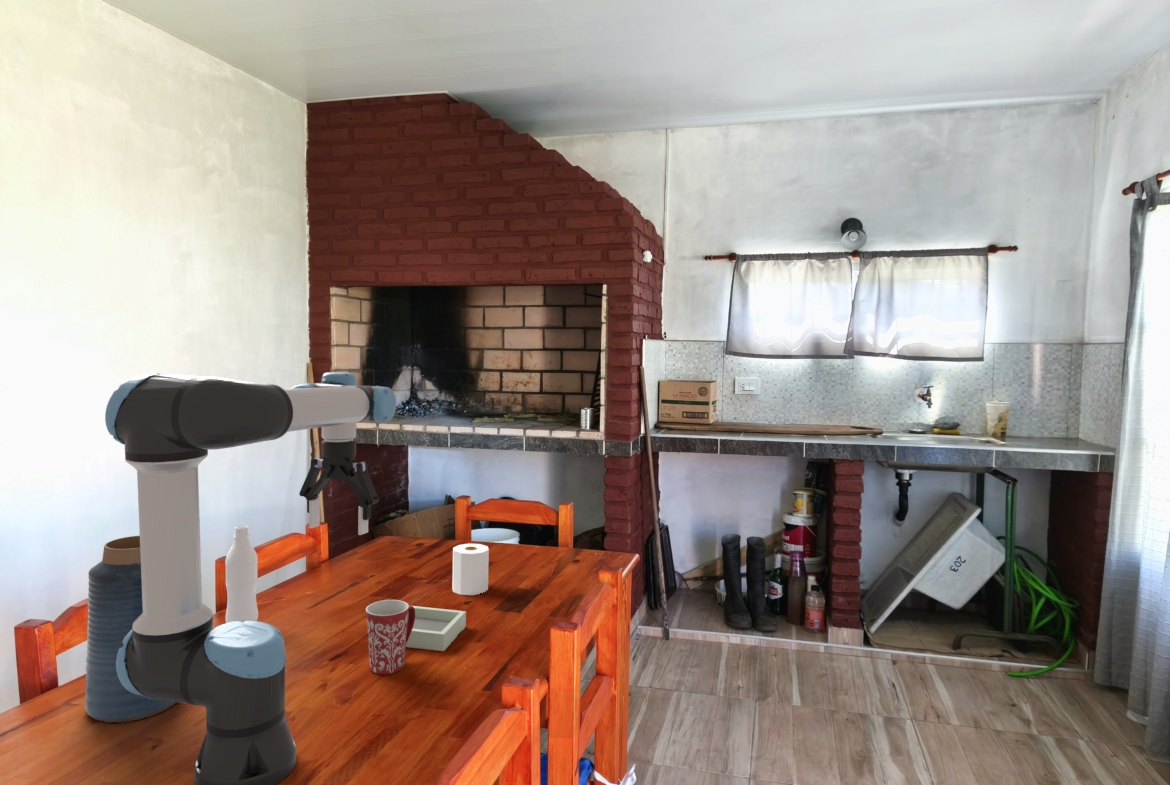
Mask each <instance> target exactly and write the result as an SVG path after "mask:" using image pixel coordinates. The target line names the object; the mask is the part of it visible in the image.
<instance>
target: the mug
mask: <svg viewBox="0 0 1170 785" xmlns="http://www.w3.org/2000/svg"><path fill="white" fill-rule="evenodd" d="M413 606H414V605H410V604H409V603H407V602H405V601H403V600H398V599H384V600H383V599H382V600H378V601H375V602H373V603H370V604H369V605H367V606H366V608H365V613H366V623H367V625H366V626H367V642H368V657H369V658H368V659H369V660H368V661H369V669H370V671H371V672H372V673H374V674H377V675H390V674H395V673H397V672H400V671H401V670H402V669H403V668H404V667H405V659H406V647H405V646H406V643H407V641H408V639H409V636H410V634H411V631H412V629H413V625H414V621H415V609H414V607H413ZM407 616H408V621H407Z"/></svg>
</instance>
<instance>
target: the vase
mask: <svg viewBox="0 0 1170 785" xmlns="http://www.w3.org/2000/svg"><path fill="white" fill-rule="evenodd" d="M87 574H88V588H87V589H88V595H87V596H88V600H87V602H88V604H87V608H88V609H87V615H88V616H87V630H86V631H87V634H86V635H87V636H86V637H87V639H86V641H87V645H86V649H87V650H86V659H85V660H86V661H85V662H86V664H85V665H86V666H85V672H86V674H85V698H84V699H85V700H84V701H85V702H84V703H85V704H84V709H85V712H86V713H87V715H88V716H90V717H91V718H93V719H94V720H96V721H99V720H100V721H99V722H102V721H104V723H111V722H116V723H126V722H127V721H128V722H132V721H133V720H134V721H139V720H141V719H146V718H149V717H152V716H155V715H157V714H160V713H161V712H164V711H166V710H168V709H169V708H171V707H172V706H174V705H175V704H177V702H173V701H167V700H161V699H160V700H153V699H149V698H146V697H143V696H141V695H137V694H134V693H131V692H130V691H128V690H127V689H126V688H125V687H124V686H123V685H122V684H121V682H120V680H119V678H118V675H117V670H116V659H117V654H118V650H119V648H122V647H123V645H124V644H123V643H122V641H123V640H124V638H125V636H126V635H127V634H128V633H129V632H130V631H131V630H132V626H133V622H134V621H135V620H136V619H137V618H138V617H139V616H140V615H141V614H142V613H143V606H142V581H141V556H140V535H132V536H124V537H121V538H116V539H113V540H109V541H108V542H106V543H104V545H103V551H102V559H101V561H99V562H98V563H97V564H95V565H94V566H92V567H91V568H90V569H89V570H88V573H87ZM145 717H146V718H145ZM134 721H133V722H134Z"/></svg>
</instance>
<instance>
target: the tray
mask: <svg viewBox="0 0 1170 785" xmlns="http://www.w3.org/2000/svg"><path fill="white" fill-rule="evenodd" d="M412 606H413V607H414V609H415V621H414V625H413V629H412V631H411V634H410V636H409V639H408V641H407V643H406V646H405V648H411V649H413V648H414V649H419V650H421V649H422V650H423V649H424V650H429V651H439V652H444V651H446V649H447V648H448V647H449V646H450V645H451V644H452V643H453V642H454V641H455V639H456V638H457V637H458V636H459V635H460V634H461V633H462V632H463V631H464V629H465V628H466V627H467V625H466V624H467V623H466V621H467V611H466V610H465V611H463V610H457V609H445V608H436V607H428V606H427V607H425V606H420V605H419V606H417V605H412ZM407 621H408V616H407ZM465 626H466V627H465ZM461 631H462V632H461ZM460 632H461V633H460ZM459 633H460V634H459ZM458 634H459V635H458ZM457 635H458V636H457ZM451 642H452V643H451Z"/></svg>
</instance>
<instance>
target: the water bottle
mask: <svg viewBox="0 0 1170 785" xmlns="http://www.w3.org/2000/svg"><path fill="white" fill-rule="evenodd" d="M232 537H233V543H232V544H231V547H230V549H229V550H228V552H227V554H226V557H225V561H224V564H225V587H226V588H225V589H226V593H227V604H226V612H225V623H228V622H233V621H240V622H245V621H246V620H250V621H258V618H259V609H258V604H257V586H258V561H259V557H258V554H257V551H256V550H255V548H254V547H253V545H252V544H251V541H250V532H249V526H248V525H246V524H245V525H243V524H241V525H237V526H235V527H234V533H233V536H232Z"/></svg>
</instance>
